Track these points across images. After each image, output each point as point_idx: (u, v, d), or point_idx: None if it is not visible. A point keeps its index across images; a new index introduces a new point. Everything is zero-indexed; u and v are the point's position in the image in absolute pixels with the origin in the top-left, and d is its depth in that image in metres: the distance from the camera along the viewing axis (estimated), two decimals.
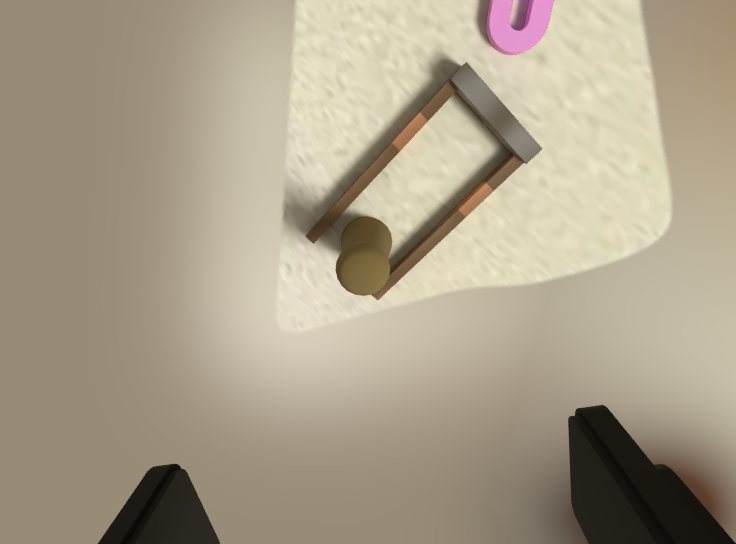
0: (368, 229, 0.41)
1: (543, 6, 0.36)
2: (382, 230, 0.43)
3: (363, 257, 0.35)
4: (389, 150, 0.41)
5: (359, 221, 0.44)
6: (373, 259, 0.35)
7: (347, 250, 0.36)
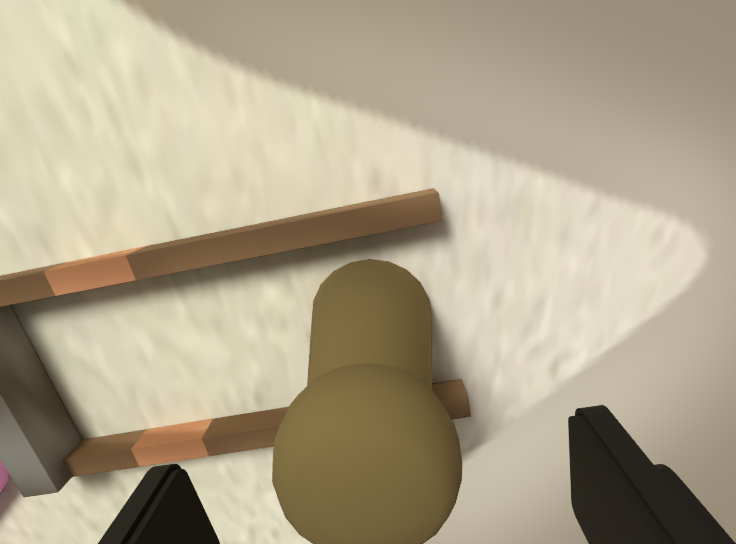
0: None
1: None
2: None
3: (324, 543, 0.10)
4: (219, 448, 0.21)
5: None
6: (299, 522, 0.10)
7: None
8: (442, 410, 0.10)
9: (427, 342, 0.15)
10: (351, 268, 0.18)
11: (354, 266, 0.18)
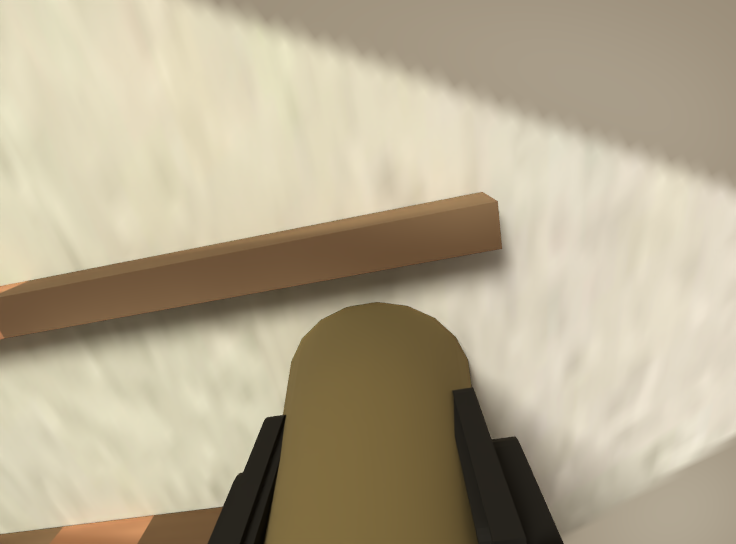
0: None
1: None
2: None
3: None
4: None
5: None
6: None
7: None
8: None
9: None
10: (348, 319, 0.11)
11: (352, 314, 0.12)
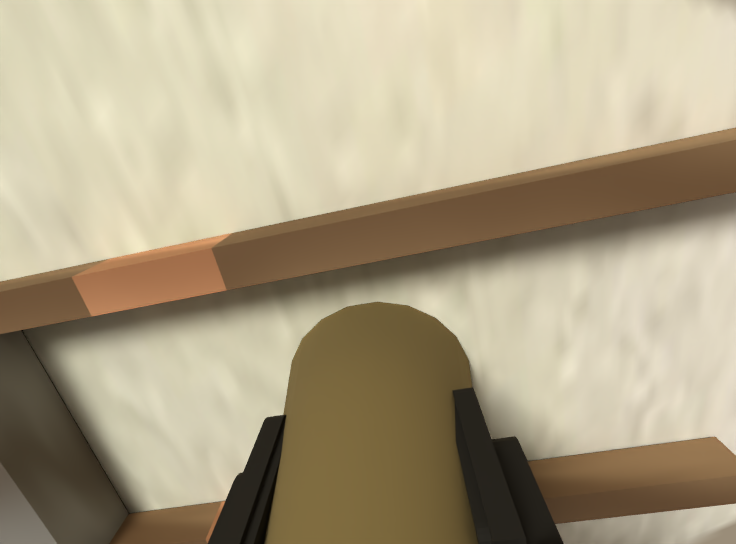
0: None
1: None
2: None
3: None
4: None
5: None
6: None
7: None
8: None
9: None
10: (349, 318, 0.11)
11: (353, 314, 0.12)
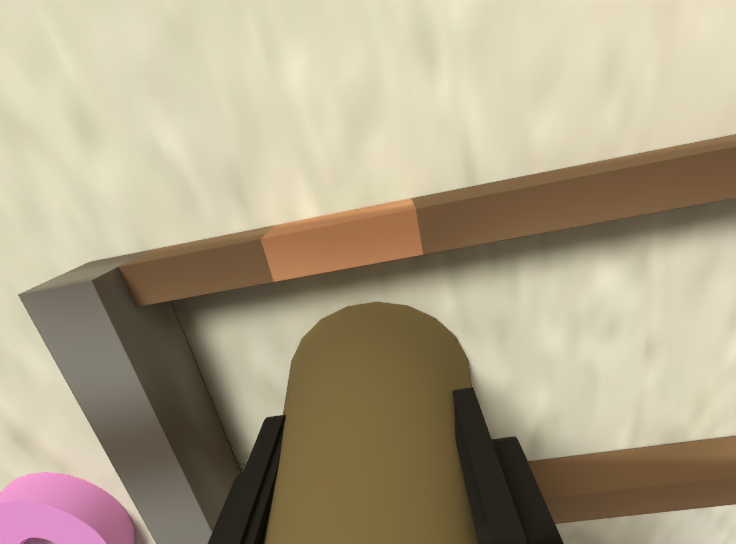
0: None
1: None
2: None
3: None
4: None
5: None
6: None
7: None
8: None
9: None
10: (348, 318, 0.11)
11: (352, 314, 0.12)
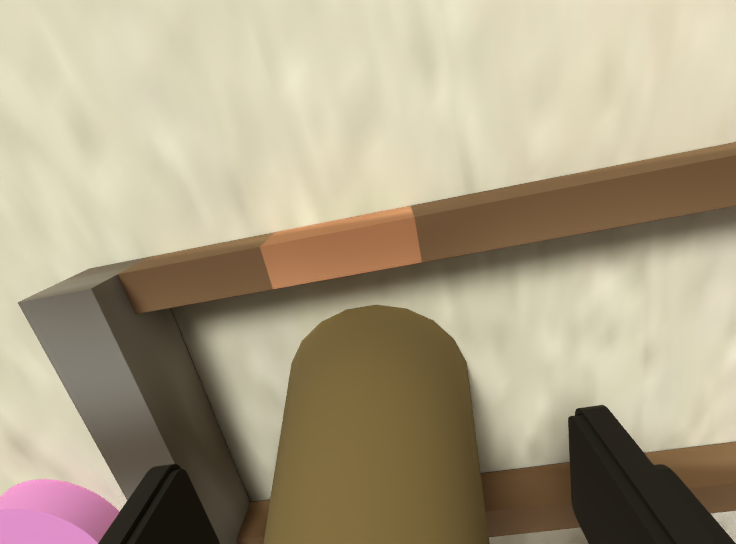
0: None
1: None
2: None
3: None
4: (488, 529, 0.13)
5: None
6: None
7: None
8: None
9: (478, 474, 0.09)
10: (348, 321, 0.12)
11: (352, 317, 0.12)
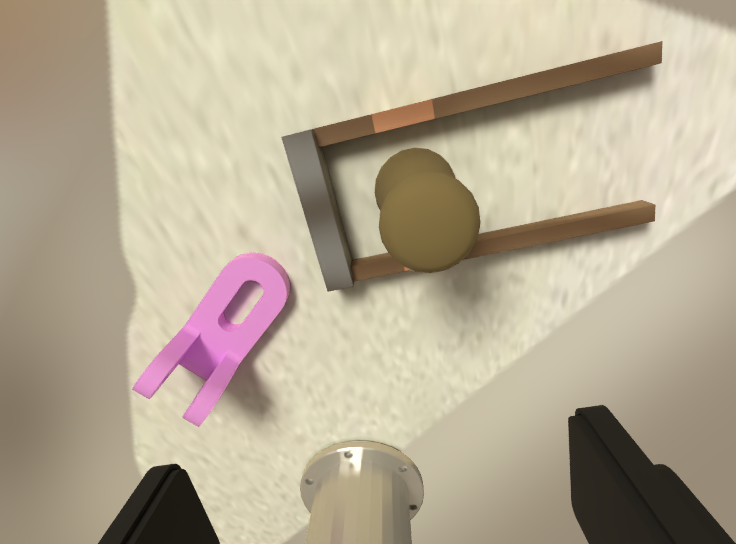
0: None
1: (223, 287, 0.31)
2: (379, 204, 0.27)
3: (410, 256, 0.19)
4: None
5: None
6: (398, 244, 0.19)
7: (427, 272, 0.21)
8: (469, 191, 0.20)
9: None
10: (403, 152, 0.27)
11: (404, 151, 0.27)
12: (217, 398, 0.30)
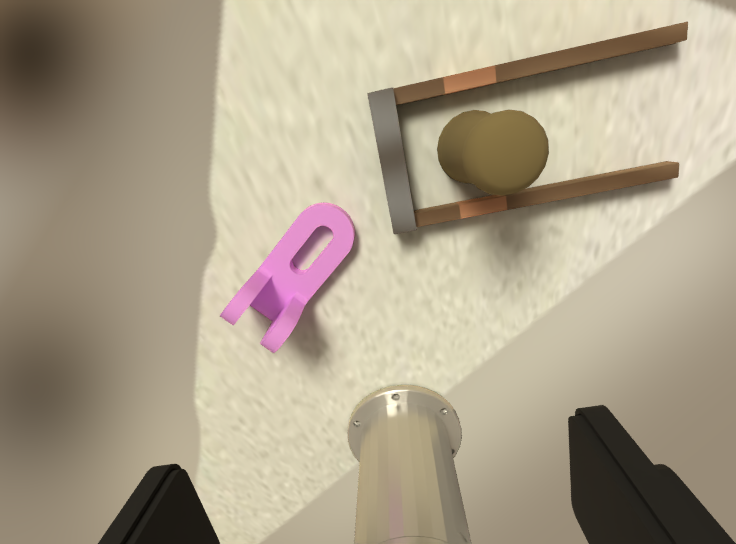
0: (459, 174, 0.30)
1: (298, 232, 0.35)
2: (445, 156, 0.32)
3: (492, 176, 0.24)
4: (515, 203, 0.33)
5: (461, 181, 0.33)
6: (483, 166, 0.24)
7: (502, 194, 0.25)
8: None
9: None
10: (465, 113, 0.32)
11: (467, 112, 0.32)
12: (293, 326, 0.33)
